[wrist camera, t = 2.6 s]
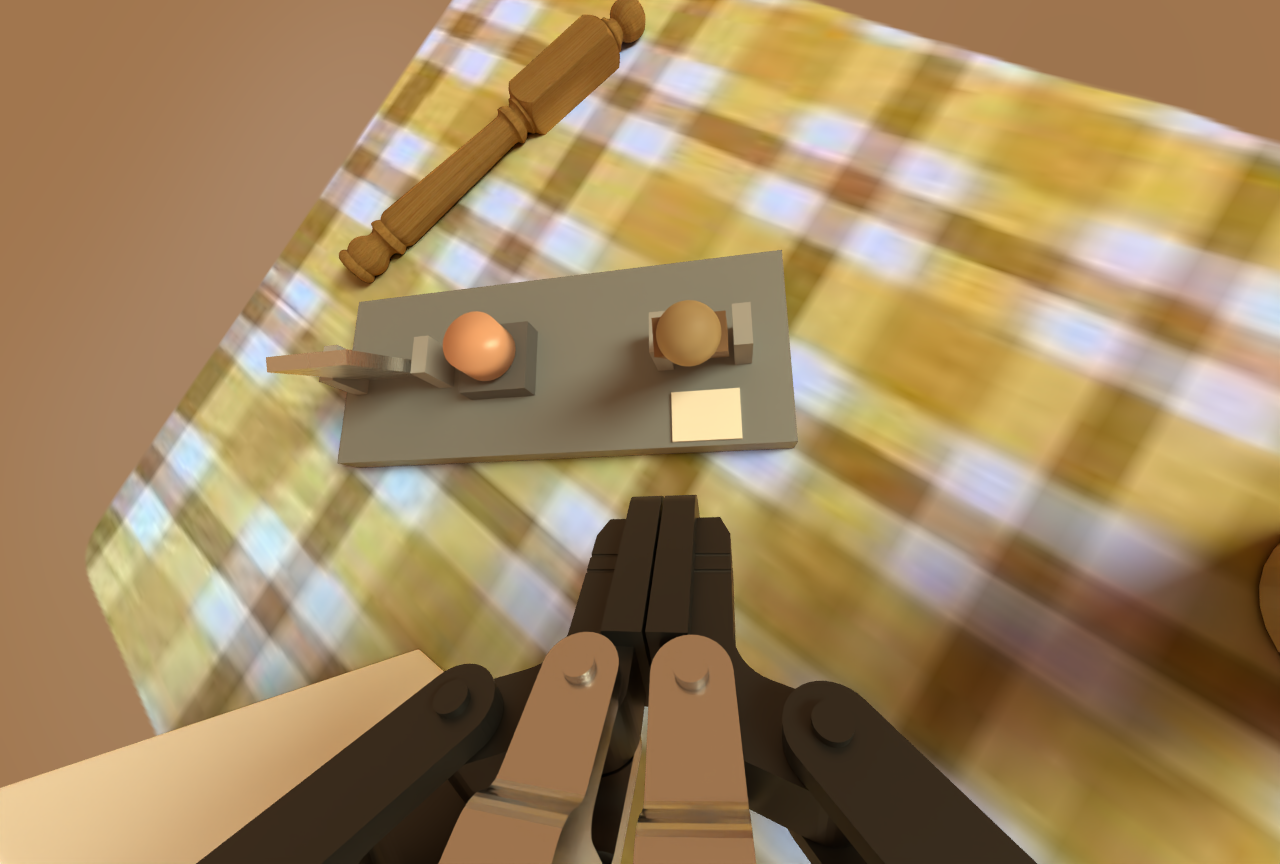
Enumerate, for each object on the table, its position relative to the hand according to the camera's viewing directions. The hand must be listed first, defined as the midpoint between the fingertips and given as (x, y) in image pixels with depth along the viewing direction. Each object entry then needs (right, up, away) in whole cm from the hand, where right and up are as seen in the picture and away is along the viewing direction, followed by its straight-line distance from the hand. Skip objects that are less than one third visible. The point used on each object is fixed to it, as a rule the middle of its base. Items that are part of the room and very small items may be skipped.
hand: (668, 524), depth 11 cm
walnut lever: (+3, +7, +17) cm, 19 cm away
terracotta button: (-10, +7, +18) cm, 22 cm away
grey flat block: (-17, +6, +21) cm, 28 cm away
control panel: (-6, +6, +22) cm, 23 cm away
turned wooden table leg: (-12, +24, +27) cm, 38 cm away
